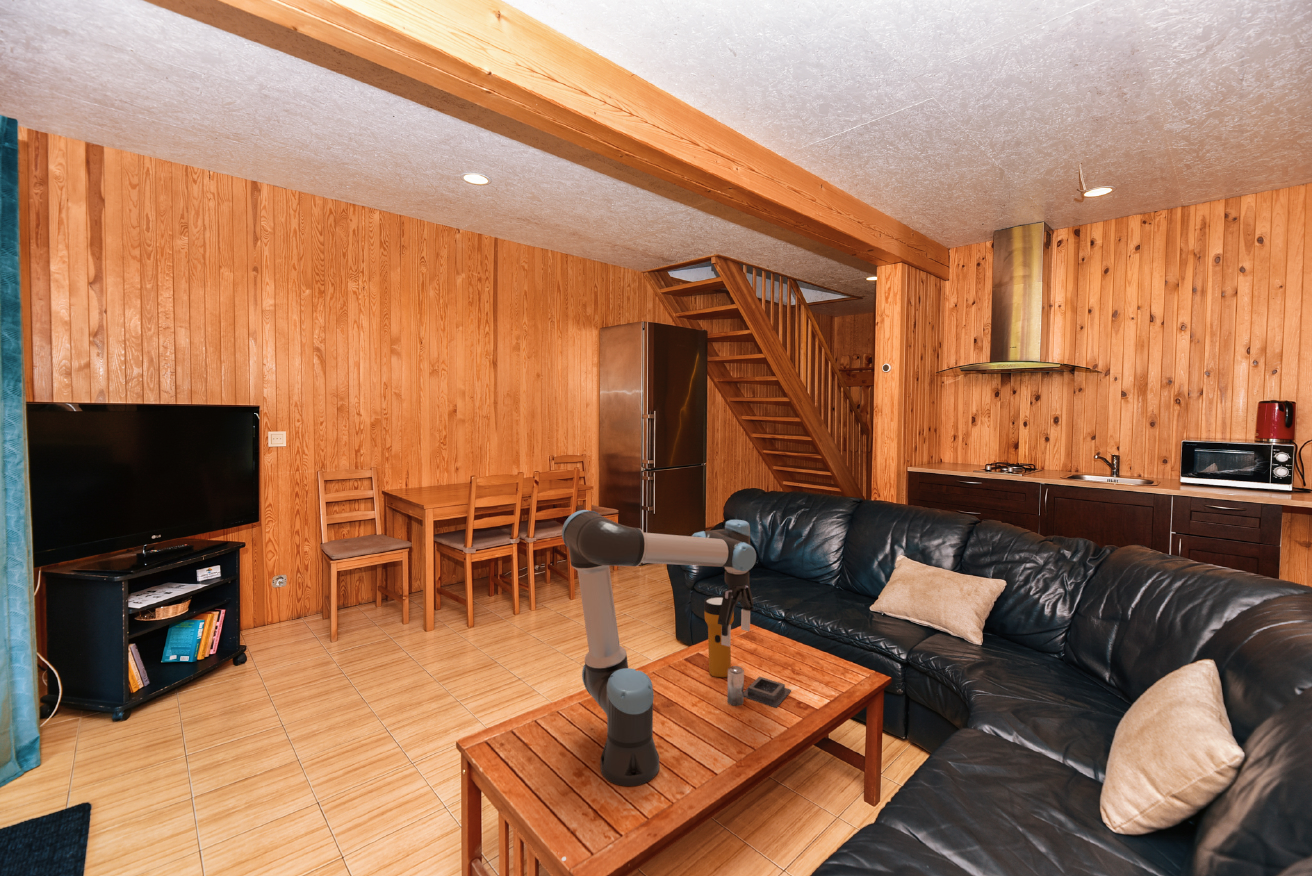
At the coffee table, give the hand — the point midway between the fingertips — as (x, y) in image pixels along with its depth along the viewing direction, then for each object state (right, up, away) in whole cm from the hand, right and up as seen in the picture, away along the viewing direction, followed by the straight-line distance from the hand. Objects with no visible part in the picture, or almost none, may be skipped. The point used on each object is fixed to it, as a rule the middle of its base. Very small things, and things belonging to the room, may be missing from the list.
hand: (736, 637), depth 175 cm
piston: (0, -21, +1) cm, 21 cm away
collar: (+11, -20, +6) cm, 24 cm away
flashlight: (-3, -19, +20) cm, 28 cm away
